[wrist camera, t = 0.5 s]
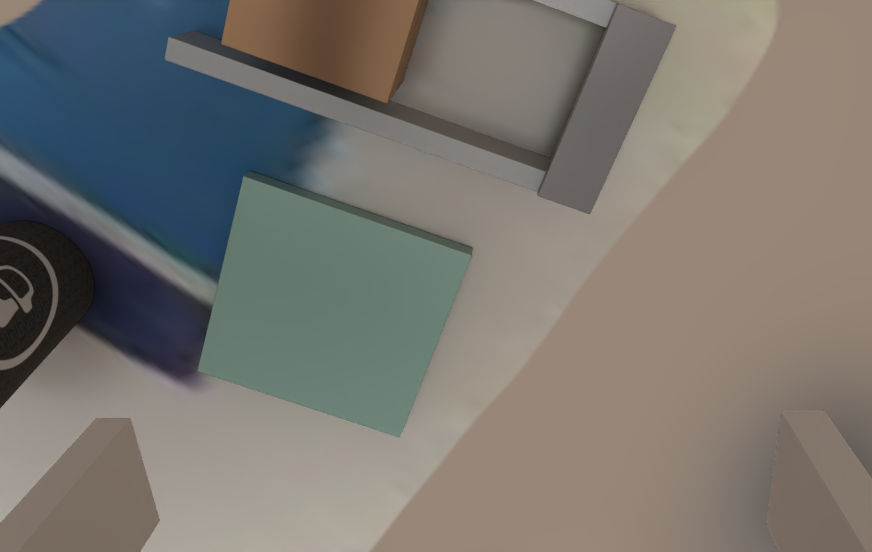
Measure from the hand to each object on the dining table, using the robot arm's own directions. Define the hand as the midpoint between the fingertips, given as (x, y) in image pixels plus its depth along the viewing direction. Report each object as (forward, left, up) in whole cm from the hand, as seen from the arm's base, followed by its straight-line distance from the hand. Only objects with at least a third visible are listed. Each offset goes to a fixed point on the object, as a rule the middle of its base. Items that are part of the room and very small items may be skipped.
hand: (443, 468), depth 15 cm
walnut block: (-8, +5, -23) cm, 25 cm away
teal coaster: (-5, -10, -23) cm, 25 cm away
